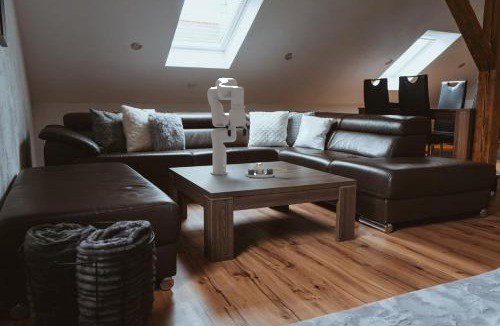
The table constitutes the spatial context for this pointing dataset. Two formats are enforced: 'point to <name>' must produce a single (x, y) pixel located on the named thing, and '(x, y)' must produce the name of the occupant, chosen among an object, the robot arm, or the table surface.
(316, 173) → the table surface
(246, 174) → the tribrach
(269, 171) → the footscrew knob
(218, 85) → the robot arm
